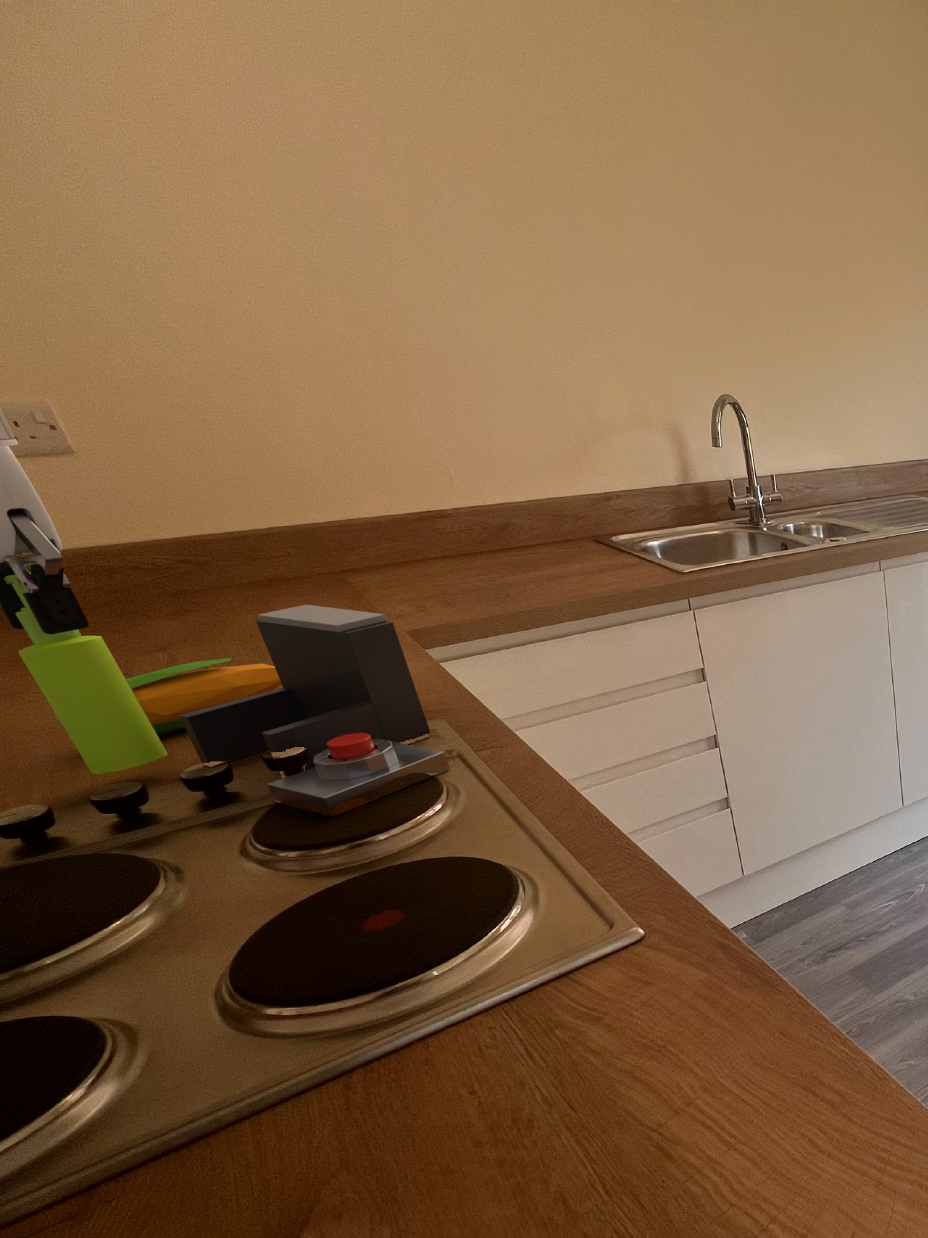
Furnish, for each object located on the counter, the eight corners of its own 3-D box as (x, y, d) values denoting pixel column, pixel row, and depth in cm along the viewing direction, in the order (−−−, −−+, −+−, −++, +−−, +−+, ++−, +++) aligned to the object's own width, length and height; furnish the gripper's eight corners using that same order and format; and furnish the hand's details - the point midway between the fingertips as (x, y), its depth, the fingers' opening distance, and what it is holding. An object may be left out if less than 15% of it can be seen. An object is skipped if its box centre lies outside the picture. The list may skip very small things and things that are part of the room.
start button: (347, 764, 84) (341, 748, 84) (324, 759, 86) (318, 743, 85) (383, 750, 88) (378, 735, 87) (361, 746, 89) (355, 730, 88)
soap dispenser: (102, 777, 85) (-18, 579, 77) (85, 771, 88) (-31, 581, 81) (178, 756, 89) (71, 566, 82) (159, 751, 93) (55, 569, 85)
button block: (332, 818, 82) (317, 780, 80) (275, 803, 85) (259, 767, 83) (450, 769, 92) (439, 736, 90) (395, 758, 95) (383, 725, 93)
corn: (58, 682, 96) (258, 637, 113) (88, 742, 100) (278, 690, 116) (94, 693, 94) (294, 646, 111) (124, 755, 97) (313, 700, 114)
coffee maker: (293, 787, 88) (234, 651, 82) (203, 765, 93) (141, 636, 87) (433, 736, 101) (391, 614, 94) (346, 719, 106) (301, 603, 100)
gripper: (-159, 431, 75) (-46, 630, 83) (-68, 433, 69) (45, 646, 77) (-39, 427, 81) (57, 612, 89) (55, 428, 76) (148, 626, 83)
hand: (50, 626), depth 83 cm, fingers closed on soap dispenser, 5 cm apart
